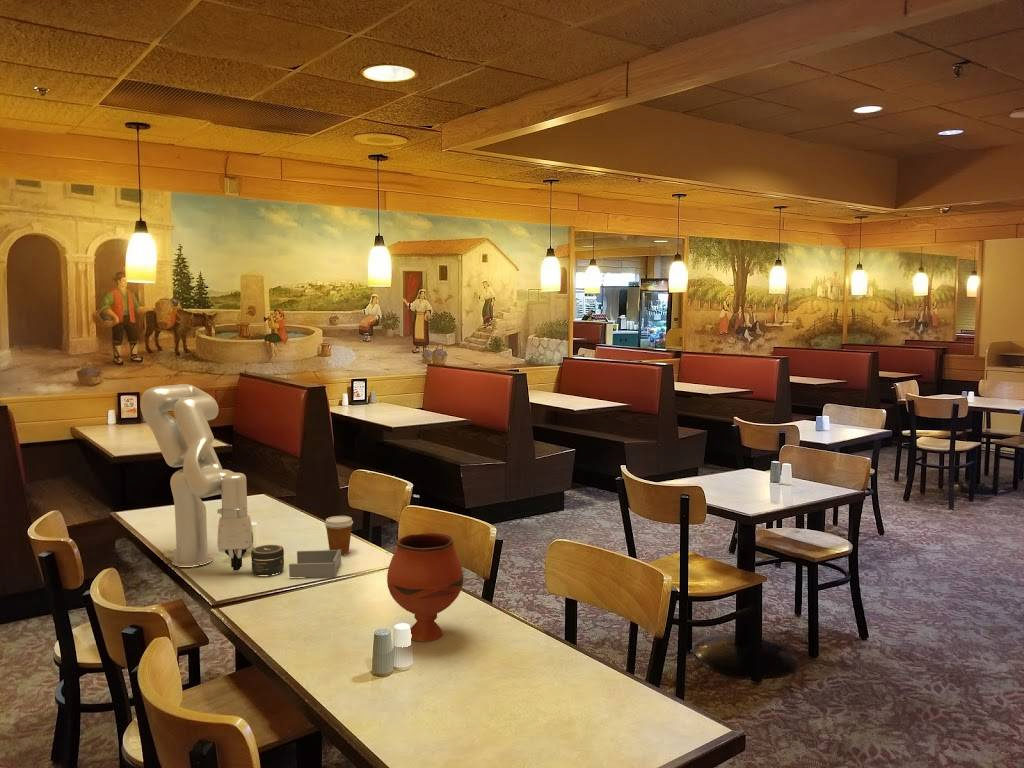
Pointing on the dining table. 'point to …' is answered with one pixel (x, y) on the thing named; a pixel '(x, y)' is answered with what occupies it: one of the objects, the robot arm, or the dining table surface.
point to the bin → (316, 563)
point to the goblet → (425, 580)
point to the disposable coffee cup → (339, 533)
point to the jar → (267, 559)
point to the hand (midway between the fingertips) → (236, 569)
